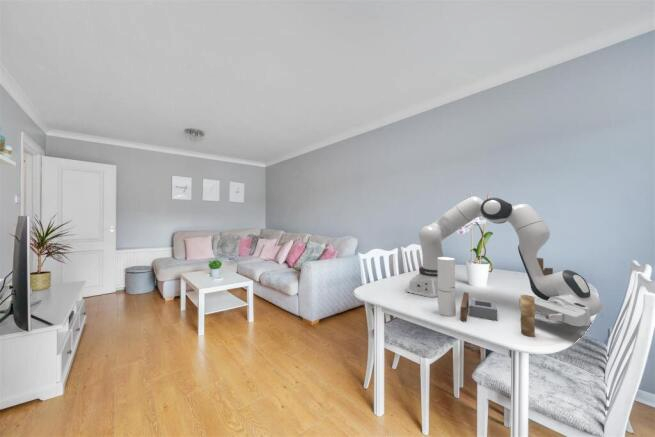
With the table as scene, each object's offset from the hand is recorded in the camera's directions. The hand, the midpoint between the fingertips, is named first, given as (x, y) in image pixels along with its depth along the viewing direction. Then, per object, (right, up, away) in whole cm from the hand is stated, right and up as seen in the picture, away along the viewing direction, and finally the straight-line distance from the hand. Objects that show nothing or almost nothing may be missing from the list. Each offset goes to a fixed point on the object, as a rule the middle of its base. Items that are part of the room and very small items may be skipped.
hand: (534, 312), depth 93 cm
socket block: (-8, -8, +18) cm, 21 cm away
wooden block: (+45, -6, +47) cm, 65 cm away
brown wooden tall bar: (-3, -8, -1) cm, 9 cm away
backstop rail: (-14, -8, +21) cm, 26 cm away
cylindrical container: (-23, -8, +20) cm, 32 cm away
